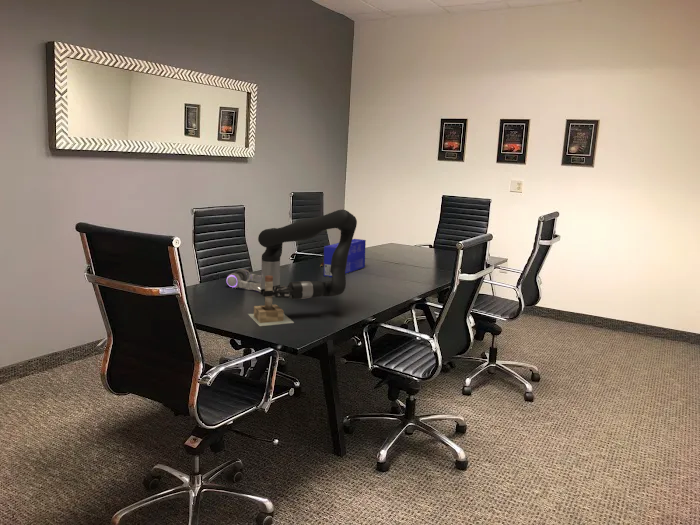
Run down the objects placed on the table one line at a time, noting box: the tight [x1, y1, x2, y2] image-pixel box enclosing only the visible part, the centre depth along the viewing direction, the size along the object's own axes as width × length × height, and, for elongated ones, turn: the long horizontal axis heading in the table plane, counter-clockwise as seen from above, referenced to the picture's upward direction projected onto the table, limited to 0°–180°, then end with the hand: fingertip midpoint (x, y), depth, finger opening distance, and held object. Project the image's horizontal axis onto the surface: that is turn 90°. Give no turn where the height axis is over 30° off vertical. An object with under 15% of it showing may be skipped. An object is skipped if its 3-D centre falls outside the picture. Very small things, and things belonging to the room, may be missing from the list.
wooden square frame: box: [253, 304, 285, 323], centre depth 233 cm, size 10×10×4 cm
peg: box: [264, 275, 274, 310], centre depth 232 cm, size 3×3×16 cm
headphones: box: [226, 268, 261, 293], centre depth 290 cm, size 22×8×22 cm
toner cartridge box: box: [323, 238, 367, 278], centre depth 336 cm, size 39×8×18 cm, turn 151°
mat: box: [247, 313, 295, 327], centre depth 234 cm, size 18×15×1 cm
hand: (262, 292), depth 230 cm, fingers closed on peg, 3 cm apart
